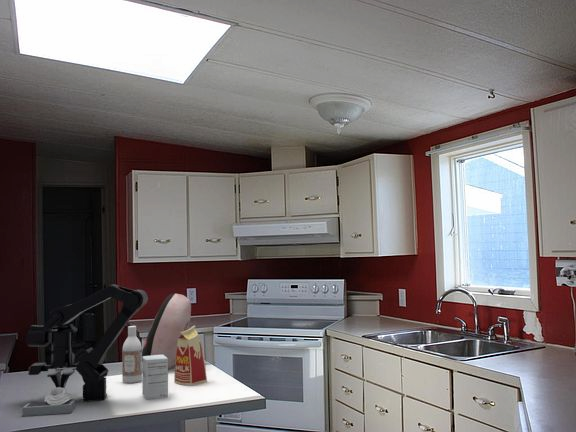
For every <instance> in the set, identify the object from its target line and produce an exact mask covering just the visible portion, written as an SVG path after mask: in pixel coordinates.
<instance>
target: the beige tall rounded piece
mask: <svg viewBox="0 0 576 432" xmlns="http://www.w3.org/2000/svg"><path fill="white" fill-rule="evenodd" d="M191 312H192V303H191V300H190V299H189V298H188V297H187V296H186V295H184V294H182V293H181V294H179V293H170V294H169V295H168V296H166V298H165V299H164V301H163V302H162V304H161V306H160V307H159V309H158V311H157V313H156V315H155V317H154V319H153V321H152V324H151V325H150V329H149V330H148V333H147V336H146V338H145V341H144V344H143V347H142V357H143V356H152V355H164V356H166V357H167V358H168V370H170V369H171V368H172V367H174V366H175V360H176V351H177V344H178V338H179V337H180V336H181V332H183V331H186V330H188V329H190V325H191V314H192V313H191Z"/></svg>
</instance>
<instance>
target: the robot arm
mask: <svg viewBox="0 0 576 432" xmlns="http://www.w3.org/2000/svg"><path fill="white" fill-rule="evenodd" d="M109 299H114V300H116V301H119V302H120V303H122V305H121V307H120V311H119V312H118V314H117V316H115V319H113V321H112V323H111V324H110V325H109V327H108V328H107V330H106V331H105V332H104V334H103V335H102V337H101V338H100V339H99V341H98V342H97V343H96V345H95V346H94V347H89V348H87V349H86V350H84V352H82V356H81V357H80V358H79V359H78V360H77V363H75V355H76V354H75V353H74V352H72V346H71V345H72V344H71V341H72V340H71V339H72V333H75V332H77V331H78V328H77V327H75V326H74V324H72V323H71V324H69V323H70V322H72V321H74V320H75V319H76V318H77V317H79V316H80V315H82V314H83V313H84V312H85V311H87V310H90V309H92V308H93V307H96V306H98V305H99V304H101V303H104V302H106V301H108V300H109ZM148 300H149V297H148V294H147V292H146V291H145V290H143V289H136V290H135V289H132V288H127V287H123V286H121V285H118V284H110V285H107V286H106V287H104V288H102V289H100V290H98V291H95V292H94V293H92V294H91V295H88V296H86V297H85V298H82V299H80V300H78V301H76V302H74V303H71V304H67V305H63V306H60V307H57V308H54V309H52V310H51V311H50V313H49V319H48V320H47V321H46V322H45V323H44V325H36V324H33V325H30V326H29V330H28V332H27V335H26V338H25V339H26V340H25V342H26V345H27V346H28V347H48V346H49V345H50V344H51V351H50V354H51V364H48V365H47V362H34V363H33V364H31V365H29V367H28V370H27V371H28V375H29V376H38V375H40V374H41V373H42V372H48V373H47V375H46V376H47V377H48V378H50V379H51V381H52V382H53V385H55V388H57V387H61V388H65V389H66V386H67V382H68V380H69V378H70V377H71V376H72V375H73V374H74V373H75V371H76V372H77V373H79V375H80V376H81V377H82V381H83V383H84V384H83V385H82V399H83V402H91V401H104V400H105V399H106V398H107V397H108V393H107V376H108V373H109V369H108V368H107V367H106V366H105V365H104V364H103V363H104V362H105V360H106V355H107V353H108V351H109V350H110V349H111V347H112V346H113V344H114V343H115V341H116V340H117V338H118V337H119V335H120V334H121V333H122V331H123V330H124V328H125V327H126V325H127V324H128V323H129V321H130V320H131V319H132V317H133V316H135V314H137V313H138V312H139V311H140V310H141V309H142V308H143V307H144V306H145V305H146V304H147V303H148ZM67 324H68V326H64V325H67ZM54 328H57V329H54Z"/></svg>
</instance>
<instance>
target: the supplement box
mask: <svg viewBox="0 0 576 432" xmlns="http://www.w3.org/2000/svg"><path fill="white" fill-rule="evenodd" d="M141 382H142V383H141V384H142V387H141V388H142V389H141V390H142V395H143V396H144V398H145V400H153V399H162V398H168V397H169V369H168V358H167V357H166V356H164V355H152V356H143V357H142V380H141Z"/></svg>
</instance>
